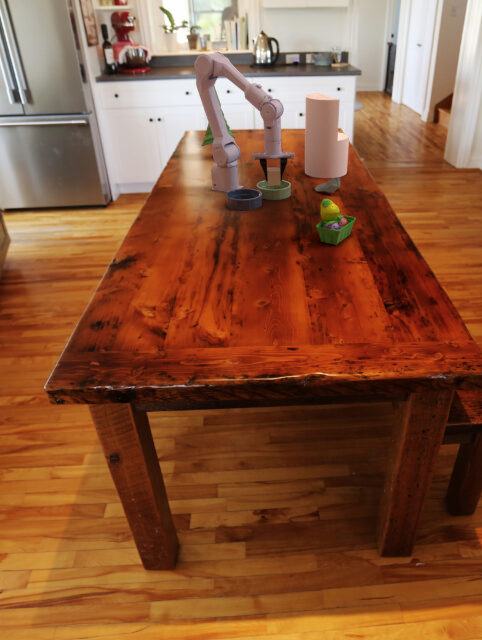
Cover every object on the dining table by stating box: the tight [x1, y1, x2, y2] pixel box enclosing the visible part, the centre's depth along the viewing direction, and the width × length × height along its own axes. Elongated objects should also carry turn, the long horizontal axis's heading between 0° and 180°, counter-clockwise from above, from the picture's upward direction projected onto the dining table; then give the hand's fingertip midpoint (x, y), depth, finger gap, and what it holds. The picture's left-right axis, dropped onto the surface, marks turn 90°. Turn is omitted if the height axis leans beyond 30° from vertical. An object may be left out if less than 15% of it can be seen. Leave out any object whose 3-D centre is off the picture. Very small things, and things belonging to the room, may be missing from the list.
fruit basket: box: [316, 198, 356, 246], centre depth 140 cm, size 11×9×11 cm
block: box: [267, 166, 280, 186], centre depth 171 cm, size 4×4×5 cm
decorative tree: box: [201, 85, 236, 147], centre depth 210 cm, size 14×16×30 cm
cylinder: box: [304, 92, 350, 179], centre depth 191 cm, size 17×17×28 cm
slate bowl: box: [225, 187, 263, 211], centre depth 166 cm, size 12×12×4 cm
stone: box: [314, 177, 341, 195], centre depth 177 cm, size 11×4×10 cm
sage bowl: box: [256, 179, 292, 201], centre depth 174 cm, size 12×12×4 cm
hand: (273, 180), depth 172 cm, fingers closed on block, 4 cm apart
